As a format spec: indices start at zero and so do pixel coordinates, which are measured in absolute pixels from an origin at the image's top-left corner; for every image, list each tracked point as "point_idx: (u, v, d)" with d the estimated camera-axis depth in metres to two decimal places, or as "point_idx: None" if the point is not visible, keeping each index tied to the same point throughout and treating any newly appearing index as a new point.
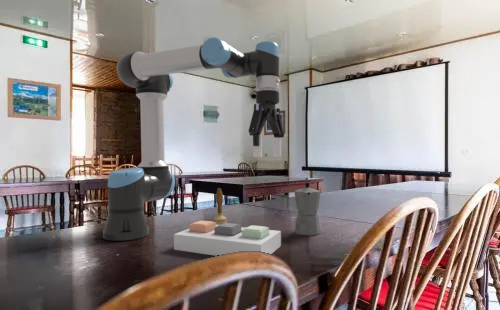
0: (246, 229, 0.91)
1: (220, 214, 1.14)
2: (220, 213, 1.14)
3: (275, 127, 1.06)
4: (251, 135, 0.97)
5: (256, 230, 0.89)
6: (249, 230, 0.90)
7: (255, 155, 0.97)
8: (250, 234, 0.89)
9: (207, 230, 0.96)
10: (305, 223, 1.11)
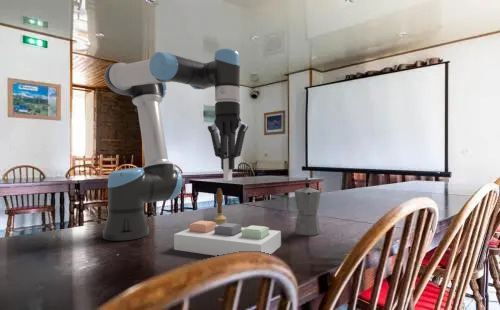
0: (246, 229, 0.91)
1: (220, 214, 1.14)
2: (220, 213, 1.14)
3: None
4: None
5: (256, 230, 0.89)
6: (249, 230, 0.90)
7: None
8: (250, 234, 0.89)
9: (207, 230, 0.96)
10: (305, 223, 1.11)
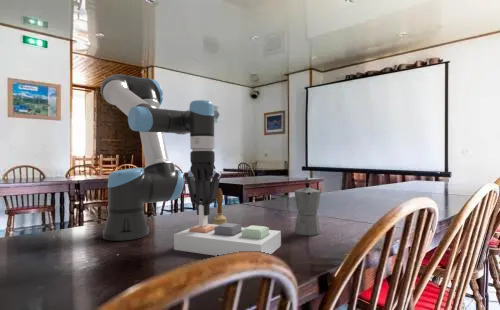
0: (246, 229, 0.91)
1: (220, 214, 1.14)
2: (220, 213, 1.14)
3: None
4: (202, 203, 1.01)
5: (256, 230, 0.89)
6: (249, 230, 0.90)
7: None
8: (250, 234, 0.89)
9: None
10: (305, 223, 1.11)
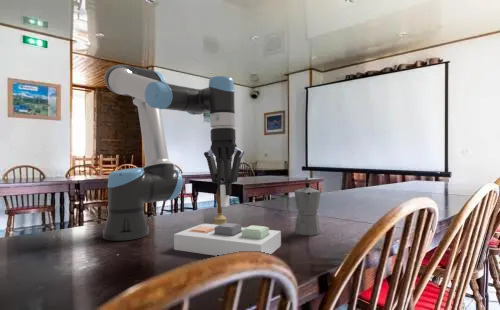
0: (246, 229, 0.91)
1: (220, 214, 1.14)
2: (220, 213, 1.14)
3: None
4: (224, 183, 0.98)
5: (256, 230, 0.89)
6: (249, 230, 0.90)
7: None
8: (250, 234, 0.89)
9: None
10: (305, 223, 1.11)
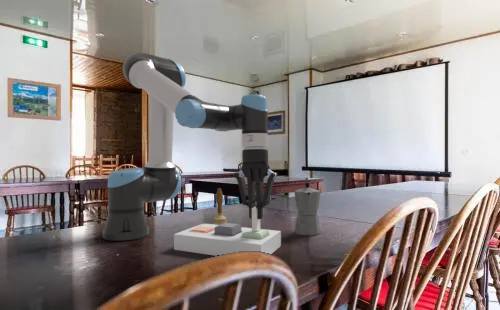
0: (246, 232, 0.91)
1: (220, 214, 1.14)
2: (220, 213, 1.14)
3: None
4: (254, 206, 0.94)
5: (256, 233, 0.89)
6: (249, 233, 0.90)
7: None
8: (250, 237, 0.89)
9: None
10: (305, 223, 1.11)
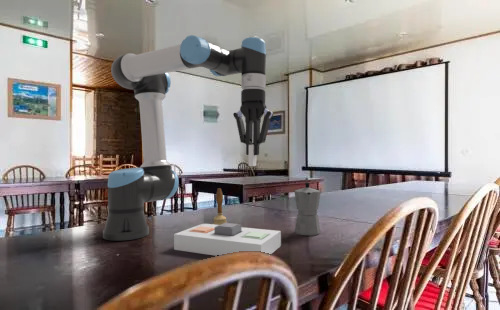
0: (246, 236, 0.91)
1: (220, 214, 1.14)
2: (220, 213, 1.14)
3: None
4: (251, 144, 1.00)
5: (256, 237, 0.89)
6: (249, 237, 0.90)
7: None
8: None
9: None
10: (305, 223, 1.11)
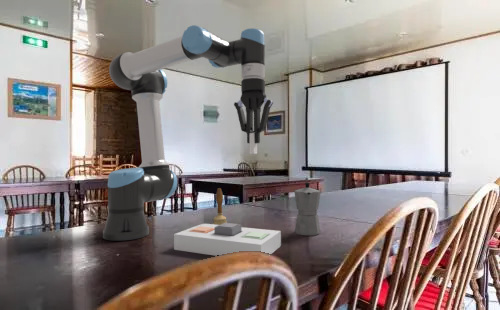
0: (246, 236, 0.91)
1: (220, 214, 1.14)
2: (220, 213, 1.14)
3: None
4: (252, 133, 1.03)
5: (256, 237, 0.89)
6: (249, 237, 0.90)
7: None
8: None
9: None
10: (305, 223, 1.11)
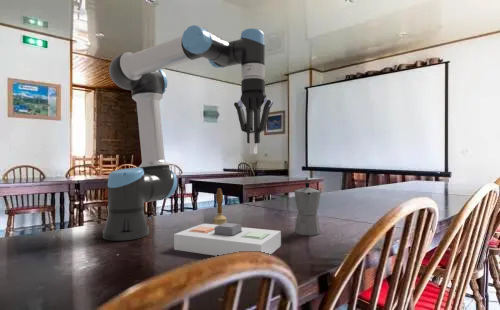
0: (246, 236, 0.91)
1: (220, 214, 1.14)
2: (220, 213, 1.14)
3: None
4: (252, 133, 1.03)
5: (256, 237, 0.89)
6: (249, 237, 0.90)
7: None
8: None
9: None
10: (305, 223, 1.11)
